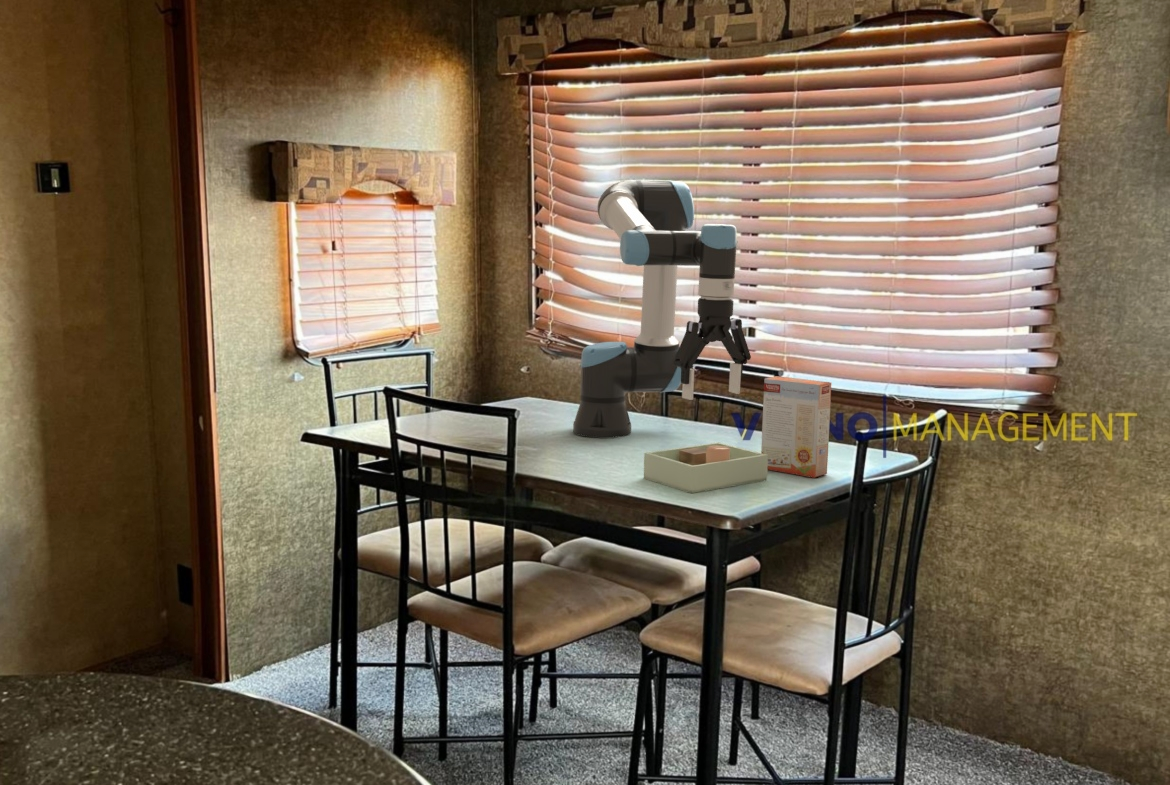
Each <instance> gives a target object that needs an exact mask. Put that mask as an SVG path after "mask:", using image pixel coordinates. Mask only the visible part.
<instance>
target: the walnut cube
mask: <svg viewBox="0 0 1170 785" xmlns="http://www.w3.org/2000/svg"><path fill="white" fill-rule="evenodd" d="M679 462H682V463H686V464H689V465H700V464H706V450H703V449H699V448H692V449H685V450H679Z"/></svg>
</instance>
